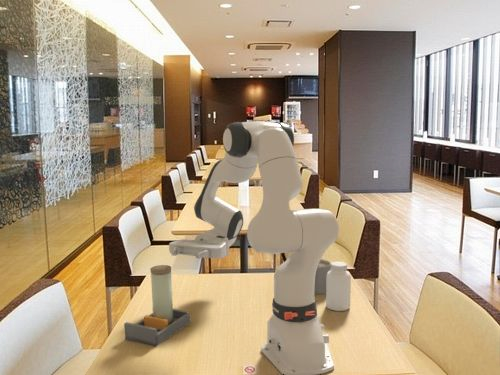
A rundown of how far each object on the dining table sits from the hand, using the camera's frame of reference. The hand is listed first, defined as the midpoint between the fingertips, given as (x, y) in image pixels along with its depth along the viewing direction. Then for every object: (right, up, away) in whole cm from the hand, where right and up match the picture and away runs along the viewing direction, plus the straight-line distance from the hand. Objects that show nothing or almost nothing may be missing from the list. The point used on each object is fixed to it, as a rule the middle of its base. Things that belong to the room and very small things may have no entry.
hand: (185, 254), depth 167 cm
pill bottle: (+50, -18, +5) cm, 54 cm away
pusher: (-7, -21, -12) cm, 25 cm away
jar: (-6, -20, -9) cm, 23 cm away
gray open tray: (-7, -22, -11) cm, 25 cm away
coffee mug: (+47, -16, +21) cm, 54 cm away
